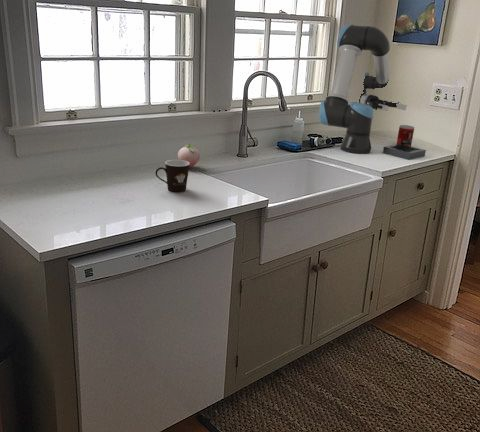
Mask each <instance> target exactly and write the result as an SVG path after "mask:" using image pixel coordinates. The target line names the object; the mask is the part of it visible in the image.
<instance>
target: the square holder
mask: <svg viewBox="0 0 480 432" xmlns="http://www.w3.org/2000/svg"><path fill="white" fill-rule="evenodd" d="M426 151H427V150H426V149H424V148H419V147H417V146H416V147H415V146H412V145H411V146H408V145H403V144H397V143H396V144H391V145H386V146H383V149H382V153H383V154H385V155H389V156H393V157H397V158H401V159H403V160H407V161H408V160H414V159H418V158H422V157H425V156H426V153H427V152H426Z"/></svg>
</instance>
